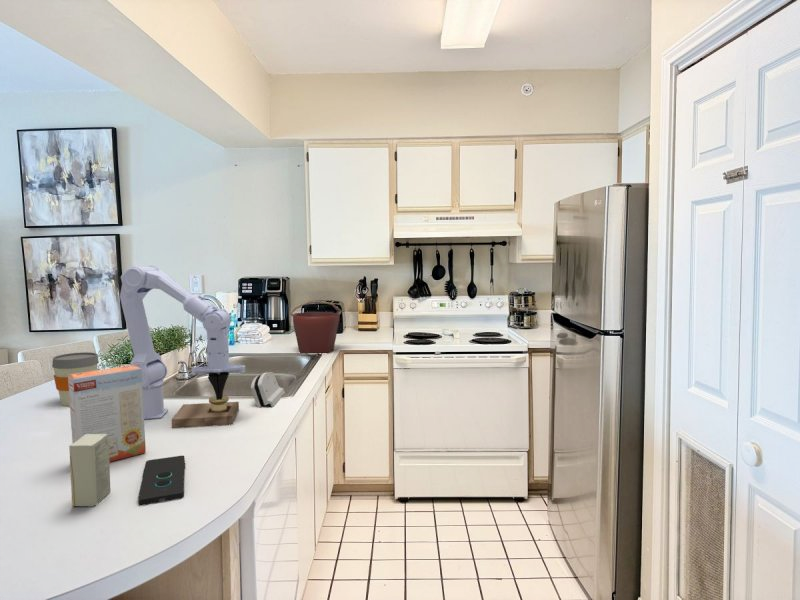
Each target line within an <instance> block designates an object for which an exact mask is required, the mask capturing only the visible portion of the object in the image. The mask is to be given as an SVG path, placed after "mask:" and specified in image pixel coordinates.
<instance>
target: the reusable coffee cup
mask: <svg viewBox="0 0 800 600" xmlns="http://www.w3.org/2000/svg"><path fill="white" fill-rule="evenodd" d="M98 364H99V356H98V353H96V352H87V351H86V352H71V353H65V354H59V355H56V356H54V357H52V364H51V367H52V368H53V371H54V375H53V379H54V384H55V388H56V390H57V391H58V395H59V400H60V404H61V405H62V406H65V407H70V401H69V386H68V375H69V374H76V373H82V372H89V371H96V370H98Z"/></svg>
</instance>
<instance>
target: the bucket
mask: <svg viewBox="0 0 800 600" xmlns="http://www.w3.org/2000/svg"><path fill="white" fill-rule="evenodd" d="M314 303H315V304H316V303H317V304H318V303H320V304H326V305H330V306H332V307H333V308H334V309H335V311H336V313H335V312H332V311H307V312H305V311H304V312H296V313H294V312H295V311H296V310H297V309H299V308H301V307H303V306H306V305H308V304H314ZM342 312H343V310H342V309H340V308H339V307H337V306H336V305H335V304H334V303H332V302H330V301H329V302H327V301H321V300H312V301H307V302H304V303H301V304H299V305H298V306H295V307H294V308H293V310H291V311H290V316H291V317H292V324H293V327H294V328H293V329H294V333H295V338H296V343H297V348H298V352H300V353H299V354H302V353H327V354H329V352H330V353H331V352H334V351H335V350H334V349H335V345H336V344H335V343H336V339H337V335H338V329H339V323H340V315H341V314H342ZM293 313H294V314H293Z"/></svg>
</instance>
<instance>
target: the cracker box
mask: <svg viewBox="0 0 800 600" xmlns="http://www.w3.org/2000/svg"><path fill="white" fill-rule="evenodd" d="M68 386H69V401H70V406H69V413H70V427H71V440H72V441H71V442H72V443H74V442H75V441H77V440H78V439H79V438H81V437H82V436H84V435H85V434H108V443H109V463H111V462H115V461H119V460H123V459H127V458H130V457H134V456H138V455H141V454H142V455H143V454H146V450H147V449H146V447H147V446H146V430H145V419H144V408H143V390H142V371H141V368H139V367H137V366H134V365H131V366H130V365H125V366H119V367H112V368H111V367H110V368H104V369H97V370H96V371H89V372H82V373H76V374H69V375H68ZM72 443H71V444H72Z"/></svg>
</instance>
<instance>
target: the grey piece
mask: <svg viewBox="0 0 800 600" xmlns="http://www.w3.org/2000/svg"><path fill="white" fill-rule="evenodd" d="M250 389H251V393H252V395H253V398H254V403H255V405H256V406H257V408H260V407H262V406H267V405H270V406H271V408H274V407H275V406H276V405H277V404H278V402H279V401H280V400H281V399H282V398H281V396H282V395H283V394H284V395H285V394H286V392H285V390H284V387H280V385H279V383H278V381H277V378H276V376H275V373H274V372H272V371H267V372H263V373H260V374H258V375H257V376H255V377H254V378H253V380H252V382H251V385H250ZM284 395H283V396H284ZM283 396H282V397H283ZM280 398H281V399H280Z"/></svg>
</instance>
